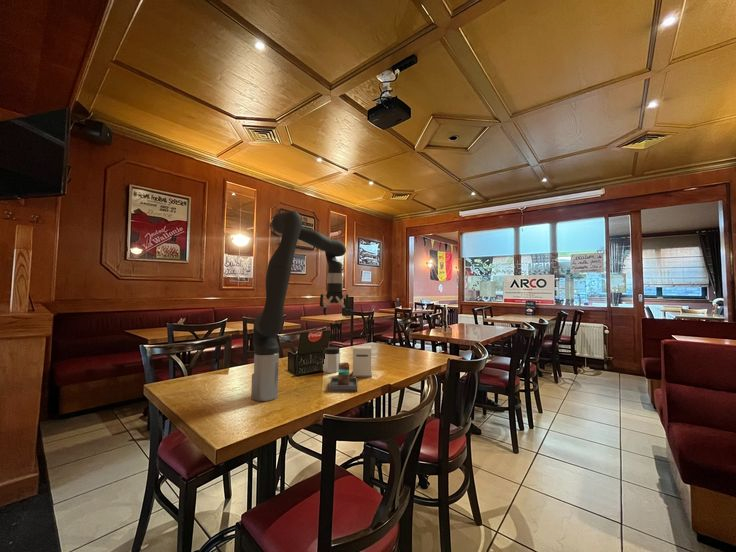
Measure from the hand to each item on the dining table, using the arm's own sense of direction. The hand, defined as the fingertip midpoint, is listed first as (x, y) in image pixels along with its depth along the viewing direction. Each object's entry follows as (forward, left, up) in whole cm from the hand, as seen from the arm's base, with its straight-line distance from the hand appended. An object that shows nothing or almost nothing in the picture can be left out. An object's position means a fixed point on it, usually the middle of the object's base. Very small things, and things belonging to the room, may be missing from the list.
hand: (334, 315), depth 148 cm
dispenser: (+14, +4, -30) cm, 33 cm away
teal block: (+6, -15, -29) cm, 33 cm away
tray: (+6, -15, -30) cm, 34 cm away
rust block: (+5, +3, -30) cm, 31 cm away
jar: (-2, +12, -30) cm, 33 cm away
